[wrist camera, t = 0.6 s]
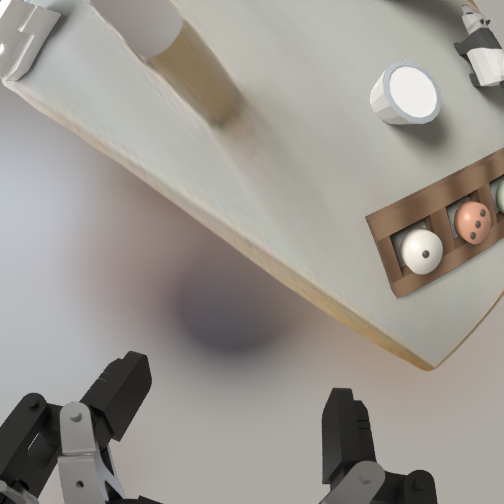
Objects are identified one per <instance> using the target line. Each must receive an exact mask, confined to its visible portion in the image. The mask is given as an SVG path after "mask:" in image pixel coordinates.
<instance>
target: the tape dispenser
mask: <svg viewBox="0 0 504 504" xmlns="http://www.w3.org/2000/svg"><path fill="white" fill-rule="evenodd" d="M61 15H62V14H59V13H57V12H54V11H52V10H49V9H46V8H44V7H41V6H38V5H33V4H30V3H26V2H23V1H20V0H2V1H1V2H0V44H1V48H0V78H3V79H4V80H6V81H17V80H18V79H20V78H21V77H22V76H23V75H24V74H25V73H26V72H28V71H29V69H30V67H31V65H32V63H33V61H34V59H35V57H36V56H37V54H38V52H39V50H40V48H41V47H42V45H43V43H44V41H45V40H46V38H47V36H48V35H49V33H50V32H51V30H52V28H53V27H54V25H55V24H56V22H57V21H58V19H59V18H60V16H61Z"/></svg>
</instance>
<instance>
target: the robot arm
mask: <svg viewBox="0 0 504 504" xmlns="http://www.w3.org/2000/svg"><path fill="white" fill-rule="evenodd" d="M151 384H152V377H151V373H150V368H149V363H148V358H147V356H146V355H144V354H140V353H137V352H133V351H129V352H128V353H127V354H126V356H125V357H124V358H123V360H122V359H119V358H118V359H116V360H115V361H113V362H111V363H110V364H109V365H108V366H107V367H106V369H105V370H104V371H103V373H102V374H101V375H100V376H99V378H98V379H97V380H96V381H95V383H94V384H93V385H92V386H91V387H90V389H89V390H88V391H87V393H86V394H85V395H84V396H83V398H82V399H81V400H80V401H79V402H71V403H68V404H66V405H65V406H58V405H54V404H49V403H47V402H46V400H45V399H44V397H43V396H42V395H40V394H38V393H30V394H27V395H26V396H24V397H23V398H22V400H21V401H20V402H19V403H18V405H17V406H16V407H15V409H14V410H13V411H12V413H11V414H10V415H9V416H8V418H7V419H6V420H5V422H4V423H3V424H2V426H1V427H0V504H39V501H38V497H39V495H40V493H41V491H42V490H43V487H44V486H45V484H46V482H47V480H48V478H49V477H50V475H51V473H52V471H53V469H54V467H55V466H56V464H57V462H58V467H59V474H60V481H61V486H62V492H63V497H64V501H65V504H162V503H159V502H156V501H154V500H151V499H148V498H145V497H142V496H139V498H138V499H127V498H126V495H125V493H124V490H123V488H122V486H121V484H120V482H119V480H118V477H117V474H116V470H115V467H114V463H113V460H112V456H111V451H110V447H109V444H108V443H109V442H110V440H111V438H112V439H114V440H116V441H119V442H120V440H121V438H122V437H123V435H124V433H125V432H126V430H127V428H128V426H129V424H130V423H131V421H132V419H133V418H134V416H135V414H136V412H137V411H138V409H139V407H140V405H141V404H142V402H143V400H144V399H145V397H146V395H147V394H148V392H149V390H150V388H151ZM370 428H371V427H370V422H369V416H368V410H367V408H366V407H365V406H364V404H363V403H362V401H357V400H354V399H353V394H352V390H351V389H350V388H333V389H332V391H331V394H330V396H329V398H328V401H327V403H326V405H325V408H324V411H323V414H322V449H323V450H322V451H323V452H322V456H323V480H322V484H330V492H329V493H328V494H327V495H326V496H325V497H324V499H323V500H322V501H321V502H320V503H319V504H438V503H437V496H436V489H435V482H434V479H433V477H432V475H431V474H430V473H429V472H427V471H424V470H416V471H413V472H411V473H410V474H408V475H401V474H395V473H390V472H387V471H385V470H384V469H383V468H382V467H381V466H380V465H379V464H378V463H377V461H376V457H375V451H374V444H373V438H372V432H371V430H370ZM37 434H38V436H37V437H36V435H37ZM35 437H36V439H35V440H34V438H35ZM33 440H34V442H33V443H32V441H33ZM31 443H32V445H31V446H30V444H31ZM29 446H30V448H29ZM28 448H29V450H28Z"/></svg>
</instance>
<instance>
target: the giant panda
mask: <svg viewBox="0 0 504 504" xmlns="http://www.w3.org/2000/svg"><path fill="white" fill-rule="evenodd" d="M462 10H463V14H464V15H463V16H462V19H463V22H464V25H465V27H466V30H467V32H468V34H469V36H468V38H467V39H465V40H464V41H463V42H462V43H457V42H456V43H454V46H455V48H456V50H457V52H458V53H459V55H465V54H467V56H468V58H469V60H470V62H471V64H472V66H473V69H474V71H475V73H476V75H475V74H472V73H471V74H469V76H470V79H471V82H472V84H473V86H474V87H482V86H496V85H501V87H503V88H504V51H503V49H502V48H501V46H500V44H499V43H498V41H497V39H496V38H495V36H494V34H493V33H492V32H491V31H490V30H489V29H488V24H489V23H490V20H487V19H486V18H485V16H484V15H482V14H479V13H476V12H475V11H473V10H472V9H471V8H470V7H469V6H468V5H463V6H462Z"/></svg>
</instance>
